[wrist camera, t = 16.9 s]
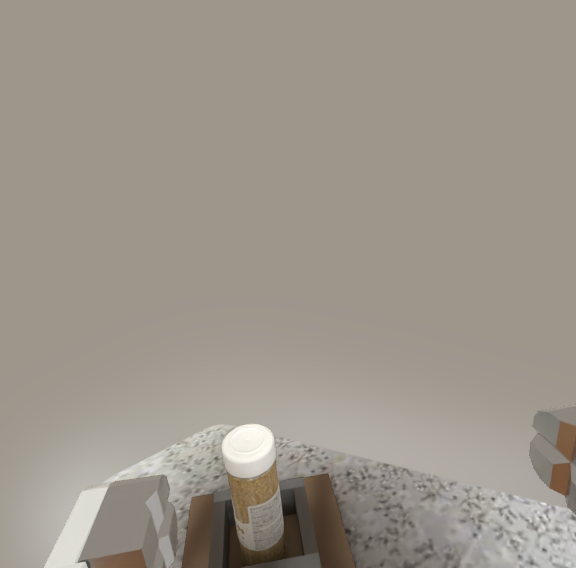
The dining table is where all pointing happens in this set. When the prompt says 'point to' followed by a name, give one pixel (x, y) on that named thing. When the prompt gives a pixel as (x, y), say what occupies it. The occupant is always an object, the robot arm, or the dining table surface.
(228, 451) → the sprinkles bottle
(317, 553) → the socket base
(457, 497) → the dining table surface
